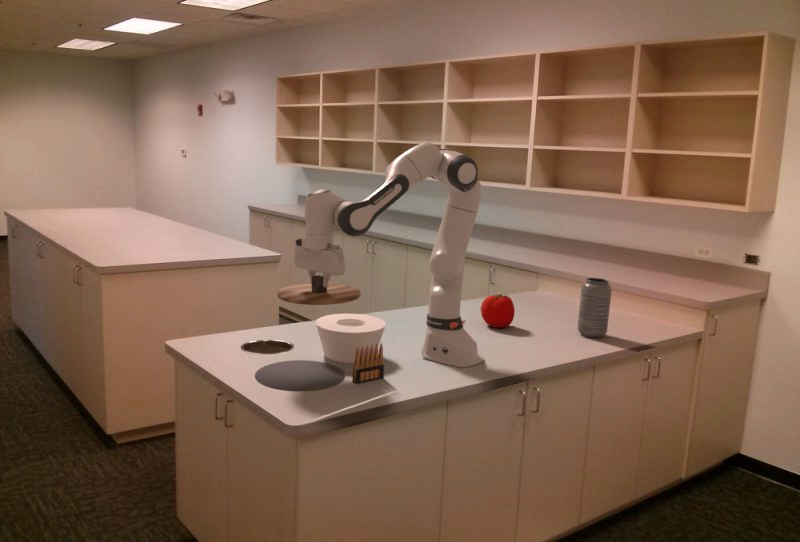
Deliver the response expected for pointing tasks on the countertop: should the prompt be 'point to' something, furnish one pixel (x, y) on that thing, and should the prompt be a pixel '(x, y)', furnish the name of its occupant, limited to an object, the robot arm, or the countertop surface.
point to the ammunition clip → (368, 365)
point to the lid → (318, 293)
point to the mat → (299, 375)
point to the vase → (594, 307)
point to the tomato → (498, 310)
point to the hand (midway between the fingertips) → (319, 285)
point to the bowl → (348, 335)
